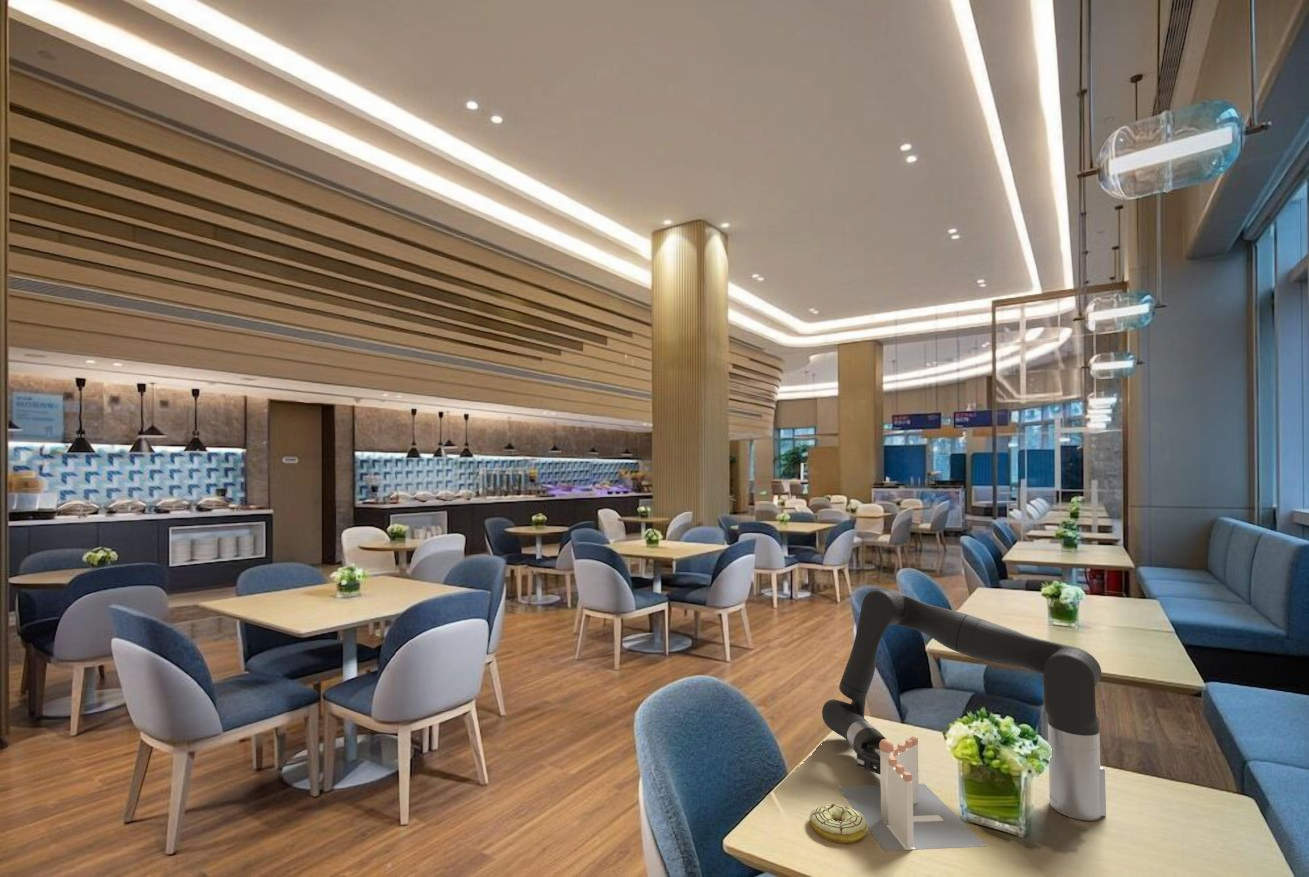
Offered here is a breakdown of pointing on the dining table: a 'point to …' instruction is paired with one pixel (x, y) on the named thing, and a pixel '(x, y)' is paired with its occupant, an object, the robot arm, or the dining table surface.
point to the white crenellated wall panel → (909, 762)
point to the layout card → (929, 821)
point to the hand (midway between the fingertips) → (901, 777)
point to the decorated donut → (838, 823)
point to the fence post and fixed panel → (896, 794)
